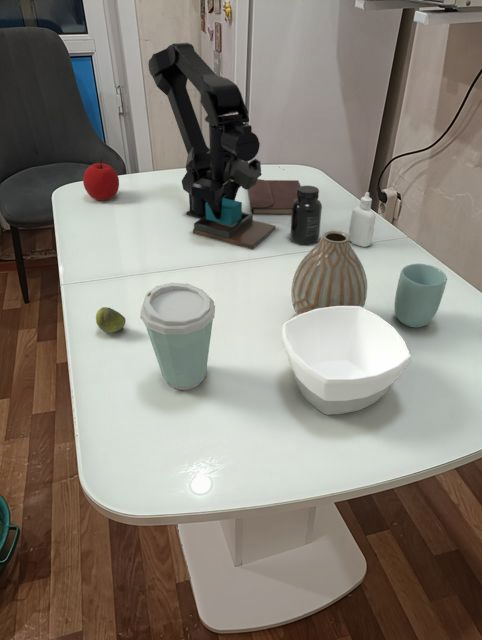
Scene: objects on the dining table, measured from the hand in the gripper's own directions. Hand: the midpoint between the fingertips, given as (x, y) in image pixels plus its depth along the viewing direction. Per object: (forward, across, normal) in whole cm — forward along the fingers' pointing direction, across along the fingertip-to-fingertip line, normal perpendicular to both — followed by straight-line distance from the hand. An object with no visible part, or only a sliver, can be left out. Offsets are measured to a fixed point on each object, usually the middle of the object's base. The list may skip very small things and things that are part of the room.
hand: (223, 214), depth 121 cm
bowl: (+4, -40, -44) cm, 60 cm away
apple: (+4, 0, +37) cm, 37 cm away
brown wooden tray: (+4, 0, -3) cm, 5 cm away
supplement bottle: (+4, +5, -19) cm, 20 cm away
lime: (+4, -46, -4) cm, 46 cm away
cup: (+4, -16, -50) cm, 53 cm away
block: (+1, 0, 0) cm, 1 cm away
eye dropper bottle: (+4, +10, -31) cm, 33 cm away
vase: (+4, -25, -36) cm, 44 cm away
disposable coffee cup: (+4, -50, -22) cm, 55 cm away
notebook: (+4, +23, -3) cm, 24 cm away
